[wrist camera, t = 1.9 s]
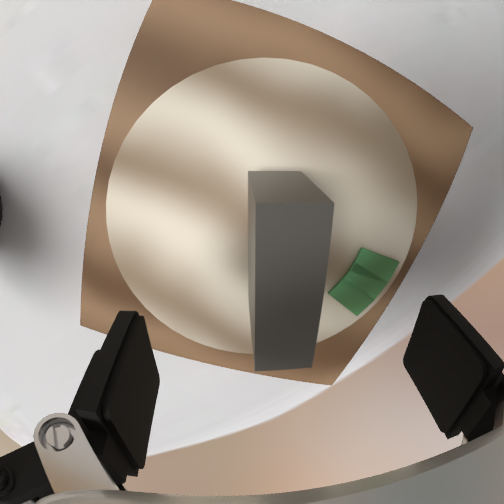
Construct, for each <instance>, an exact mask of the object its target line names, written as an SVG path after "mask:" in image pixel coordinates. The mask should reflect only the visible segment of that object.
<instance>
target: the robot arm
mask: <svg viewBox="0 0 504 504" xmlns="http://www.w3.org/2000/svg"><path fill="white" fill-rule="evenodd" d="M403 363H404V366H405V368H406V370H407V372H408V373H409V375H410V377H411V378H412V380H413V382H414V384H415V385H416V387H417V389H418V391H419V392H420V394H421V396H422V398H423V400H424V401H425V403H426V405H427V407H428V409H429V410H430V412H431V414H432V416H433V418H434V420H435V422H436V423H437V425H438V427H439V429H440V431H441V432H444V433H445V435H446V437H447V439H449V438H451V437H454V436H456V435H459V434H460V432H461V431H462V432H463V434H464V435H463V440H462V444H461V446H459V447H456V448H454V449H452V450H450V451H447V452H445V453H442V454H440V455H437V456H435V457H432V458H429V459H427V460H424V461H421V462H418V463H415V464H413V465H409V466H407V467H403V468H400V469H397V470H394V471H390V472H387V473H384V474H380V475H376V476H372V477H368V478H364V479H360V480H357V481H352V482H348V483H343V484H337V485H332V486H327V487H321V488H315V489H309V490H302V491H294V492H286V493H276V494H266V495H265V494H264V495H249V496H185V495H183V496H182V495H168V494H157V493H144V492H132V491H128V490H127V489H126V487H125V486H124V484H123V483H125V482H126V477H127V475H129V476H136V477H137V476H138V470H139V469H143V468H144V465H145V460H146V454H147V448H148V442H149V436H150V431H151V425H152V420H153V415H154V409H155V404H156V399H157V394H158V389H159V384H160V378H159V373H158V369H157V366H156V362H155V358H154V355H153V351H152V347H151V343H150V339H149V335H148V331H147V326H146V322H145V318H144V316H140V315H139V313H138V312H137V311H119V312H118V314H117V316H116V318H115V320H114V322H113V324H112V326H111V328H110V330H109V332H108V334H107V337H106V339H105V341H104V343H103V345H102V347H101V350H97V351H96V352H95V353H94V355H93V357H92V359H91V361H90V364H89V366H88V368H87V370H86V372H85V375H84V377H83V379H82V381H81V384H80V386H79V388H78V391H77V393H76V395H75V398H74V400H73V403H72V405H71V408H70V410H69V413H68V414H65V413H54V414H50V415H48V416H46V417H44V418H43V419H42V420H41V421H40V422H39V423H38V424H37V426H36V428H35V430H34V436H33V437H34V442H32V443H30V444H27V445H25V446H23V447H21V448H19V449H17V450H15V451H13V452H11V453H9V454H6V455H4V456H2V457H0V504H504V374H503V373H502V370H503V369H504V362H503V361H502V359H501V358H500V357H499V356H498V355H497V354H496V352H495V351H494V350H493V349H492V348H491V346H490V345H489V344H488V343H487V342H486V341H485V340H484V338H483V337H482V336H481V335H480V334H479V333H478V332H477V331H476V329H475V328H474V327H473V326H472V325H471V324H470V323H469V322H468V321H467V320H466V318H465V317H464V316H463V315H462V314H461V313H460V312H459V311H458V310H457V309H456V308H455V307H454V306H453V305H452V304H451V303H450V302H449V301H448V299H447V298H446V297H445V296H443V295H433V296H428V297H427V298H426V300H425V301H423V303H422V305H421V308H420V312H419V315H418V318H417V321H416V324H415V327H414V330H413V333H412V336H411V338H410V341H409V344H408V347H407V349H406V352H405V355H404V358H403Z"/></svg>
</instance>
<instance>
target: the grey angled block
mask: <svg viewBox="0 0 504 504" xmlns="http://www.w3.org/2000/svg"><path fill="white" fill-rule="evenodd" d="M333 213H334V202H333V201H332V200H331V199H330V198H329V197H328V196H327V195H326V194H325V193H323V192H322V191H321V190H320V189H319V188H318V187H317V186H316V185H315V184H314V183H313V182H312V181H311V180H310V179H309V178H308V177H307V176H306V175H304V174H303V173H302V172H301V171H248V299H249V314H250V326H251V338H252V349H253V360H254V371H273V370H288V369H301V368H312V364H313V358H314V353H315V347H316V341H317V336H318V330H319V323H320V317H321V311H322V304H323V297H324V290H325V283H326V275H327V267H328V259H329V251H330V242H331V233H332V223H333Z"/></svg>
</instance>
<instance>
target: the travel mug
mask: <svg viewBox="0 0 504 504" xmlns="http://www.w3.org/2000/svg"><path fill="white" fill-rule="evenodd" d="M1 221H2V203H1V197H0V225H1Z"/></svg>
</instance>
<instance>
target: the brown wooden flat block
mask: <svg viewBox="0 0 504 504" xmlns="http://www.w3.org/2000/svg"><path fill="white" fill-rule="evenodd" d="M472 130H473V127H472V126H470V125H469V124H468V123H467V122H466V121H464V120H463V119H462V118H461V117H460V116H458V115H457V114H456V113H455V112H453V111H452V110H451V109H449V108H448V107H447V106H446V105H444V104H443V103H442V102H440V101H439V100H438V99H436V98H435V97H433V96H432V95H431V94H429V93H428V92H426V91H425V90H423V89H422V88H421V87H419V86H418V85H416V84H415V83H413V82H412V81H410V80H409V79H407V78H405V77H404V76H402V75H401V74H399V73H398V72H396V71H394V70H393V69H391V68H389V67H388V66H386V65H384V64H383V63H381V62H379V61H377V60H376V59H374V58H372V57H370V56H368V55H367V54H365V53H363V52H361V51H359V50H357V49H355V48H353V47H351V46H349V45H347V44H345V43H343V42H341V41H339V40H337V39H335V38H333V37H331V36H329V35H326V34H324V33H322V32H320V31H318V30H315V29H313V28H310V27H308V26H306V25H303V24H301V23H298V22H296V21H293V20H291V19H288V18H285V17H283V16H280V15H277V14H274V13H271V12H268V11H265V10H262V9H259V8H256V7H253V6H249V5H246V4H243V3H239V2H236V1H232V0H152V2H151V5H150V7H149V9H148V11H147V13H146V16H145V18H144V20H143V22H142V25H141V27H140V29H139V32H138V34H137V37H136V39H135V42H134V44H133V47H132V49H131V52H130V55H129V57H128V60H127V63H126V66H125V69H124V71H123V74H122V77H121V80H120V83H119V86H118V90H117V93H116V96H115V99H114V103H113V106H112V109H111V113H110V117H109V120H108V124H107V128H106V132H105V136H104V140H103V144H102V148H101V152H100V157H99V161H98V166H97V171H96V176H95V181H94V187H93V192H92V198H91V204H90V211H89V218H88V225H87V233H86V241H85V251H84V261H83V274H82V290H81V319H80V325H81V326H84V327H87V328H90V329H92V330H95V331H98V332H101V333H104V334H108V332H109V330H110V328H111V326H112V324H113V322H114V320H115V318H116V316H117V314H118V312H119V311H137V312H138V313H139V315H140V316H144V318H145V322H146V326H147V331H148V335H149V339H150V343H151V347H152V349H155V350H158V351H162V352H165V353H169V354H172V355H176V356H180V357H184V358H188V359H192V360H196V361H200V362H204V363H208V364H212V365H217V366H221V367H226V368H230V369H235V370H240V371H245V372H250V373H255V374H260V375H266V376H271V377H277V378H283V379H289V380H296V381H302V382H309V383H317V384H324V385H332V384H333V383H334V382H335V380H336V379H337V378H338V376H339V375H340V374H341V373H342V371H343V370H344V369H345V367H346V366H347V364H348V363H349V362H350V360H351V359H352V358H353V356H354V355H355V353H356V352H357V351H358V349H359V348H360V346H361V345H362V344H363V342H364V341H365V339H366V338H367V336H368V335H369V333H370V332H371V330H372V329H373V327H374V326H375V324H376V323H377V321H378V320H379V318H380V317H381V315H382V314H383V312H384V310H385V309H386V307H387V306H388V304H389V302H390V301H391V299H392V298H393V296H394V294H395V293H396V291H397V289H398V288H399V286H400V284H401V283H402V281H403V279H404V277H405V276H406V274H407V272H408V270H409V269H410V267H411V265H412V263H413V261H414V260H415V258H416V256H417V254H418V252H419V250H420V249H421V247H422V245H423V243H424V241H425V239H426V237H427V235H428V233H429V231H430V229H431V227H432V225H433V223H434V221H435V219H436V217H437V215H438V213H439V211H440V208H441V206H442V204H443V202H444V200H445V198H446V195H447V193H448V191H449V189H450V186H451V184H452V182H453V179H454V177H455V174H456V172H457V170H458V167H459V165H460V162H461V160H462V157H463V154H464V152H465V149H466V146H467V144H468V141H469V138H470V135H471V132H472ZM248 171H301V172H302V173H303V174H304V175H306V176H307V177H308V178H309V179H310V180H311V181H312V182H313V183H314V184H315V185H316V186H317V187H318V188H319V189H320V190H321V191H322V192H323V193H325V194H326V195H327V196H328V197H329V198H330V199H331V200H332V201H333V202H334V213H333V223H332V233H331V242H330V251H329V259H328V267H327V275H326V283H325V290H324V297H323V304H322V311H321V317H320V323H319V330H318V336H317V341H316V347H315V353H314V358H313V364H312V368H301V369H288V370H273V371H254V360H253V349H252V338H251V326H250V314H249V299H248Z"/></svg>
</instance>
